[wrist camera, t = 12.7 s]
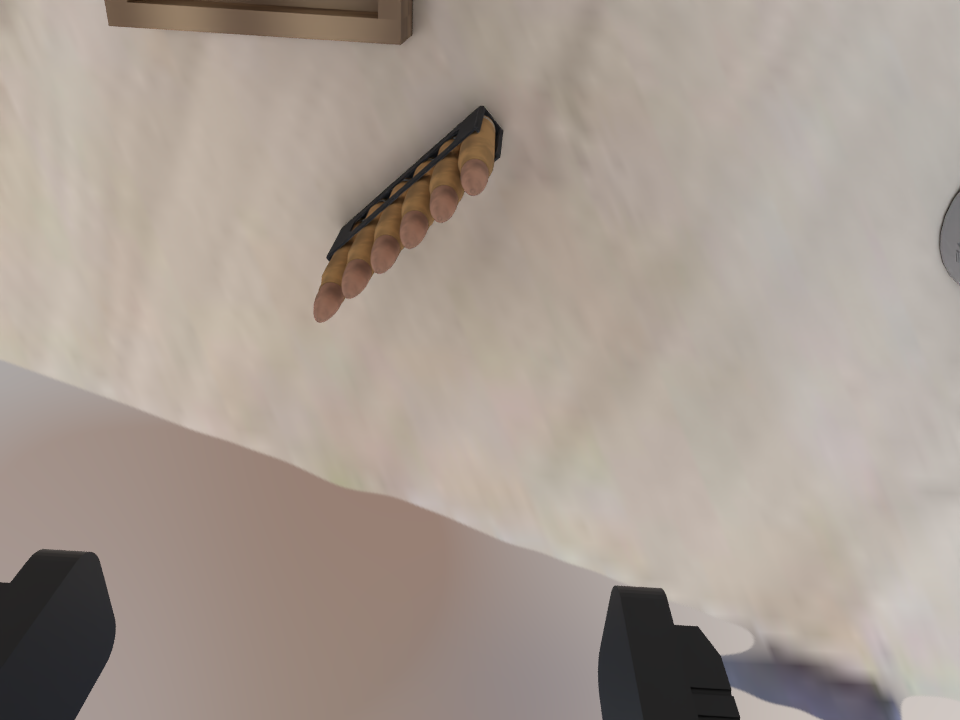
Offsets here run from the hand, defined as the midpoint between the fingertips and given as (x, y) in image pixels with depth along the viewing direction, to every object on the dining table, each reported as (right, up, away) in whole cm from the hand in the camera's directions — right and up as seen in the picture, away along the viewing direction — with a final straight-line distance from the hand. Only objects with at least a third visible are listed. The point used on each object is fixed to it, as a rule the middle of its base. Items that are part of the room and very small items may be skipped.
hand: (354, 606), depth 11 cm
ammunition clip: (-1, +14, +29) cm, 32 cm away
